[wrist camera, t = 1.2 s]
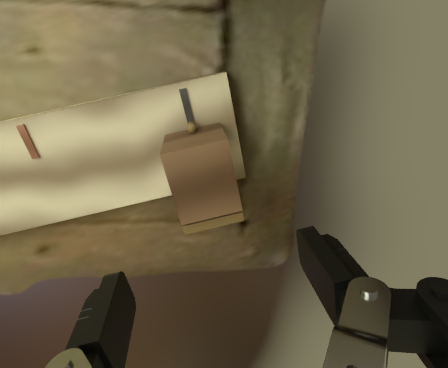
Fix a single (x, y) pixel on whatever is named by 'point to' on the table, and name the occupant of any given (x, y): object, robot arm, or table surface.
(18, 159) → the board
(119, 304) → the robot arm
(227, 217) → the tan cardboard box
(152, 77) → the table surface
